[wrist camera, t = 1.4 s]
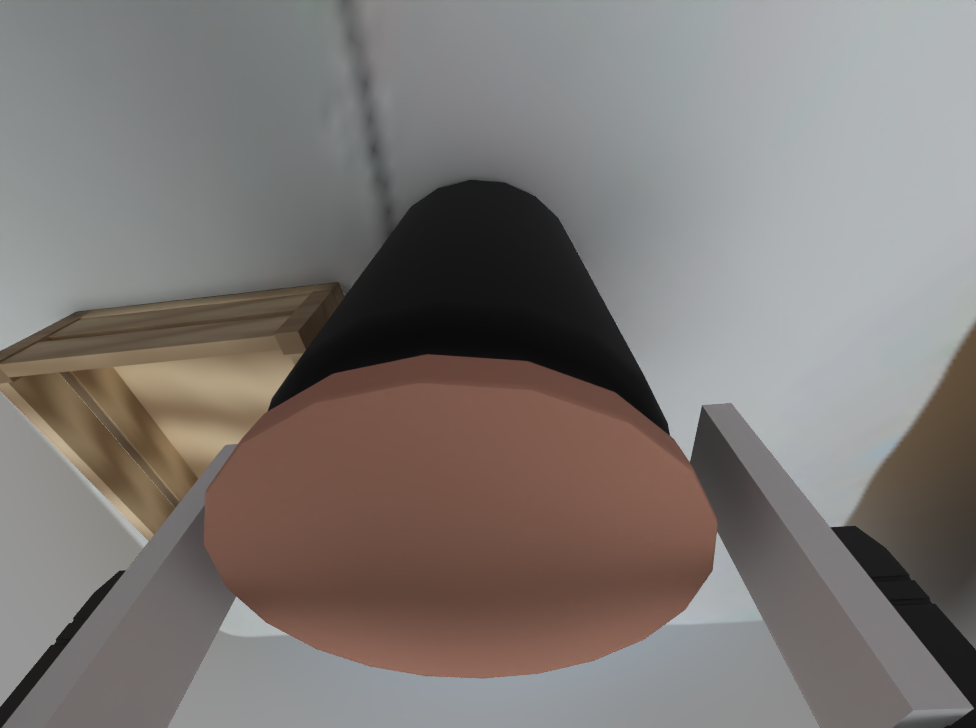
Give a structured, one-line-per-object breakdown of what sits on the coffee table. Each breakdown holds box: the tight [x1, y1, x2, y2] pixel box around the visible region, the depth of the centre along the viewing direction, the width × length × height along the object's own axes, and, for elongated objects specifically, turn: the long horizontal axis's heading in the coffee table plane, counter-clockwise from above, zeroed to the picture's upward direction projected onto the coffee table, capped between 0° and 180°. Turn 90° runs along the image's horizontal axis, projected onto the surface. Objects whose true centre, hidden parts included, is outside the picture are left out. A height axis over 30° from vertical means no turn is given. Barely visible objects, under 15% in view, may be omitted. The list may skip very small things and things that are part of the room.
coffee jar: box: [204, 180, 718, 678], centre depth 16 cm, size 11×11×18 cm
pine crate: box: [0, 283, 344, 541], centre depth 27 cm, size 17×17×6 cm
